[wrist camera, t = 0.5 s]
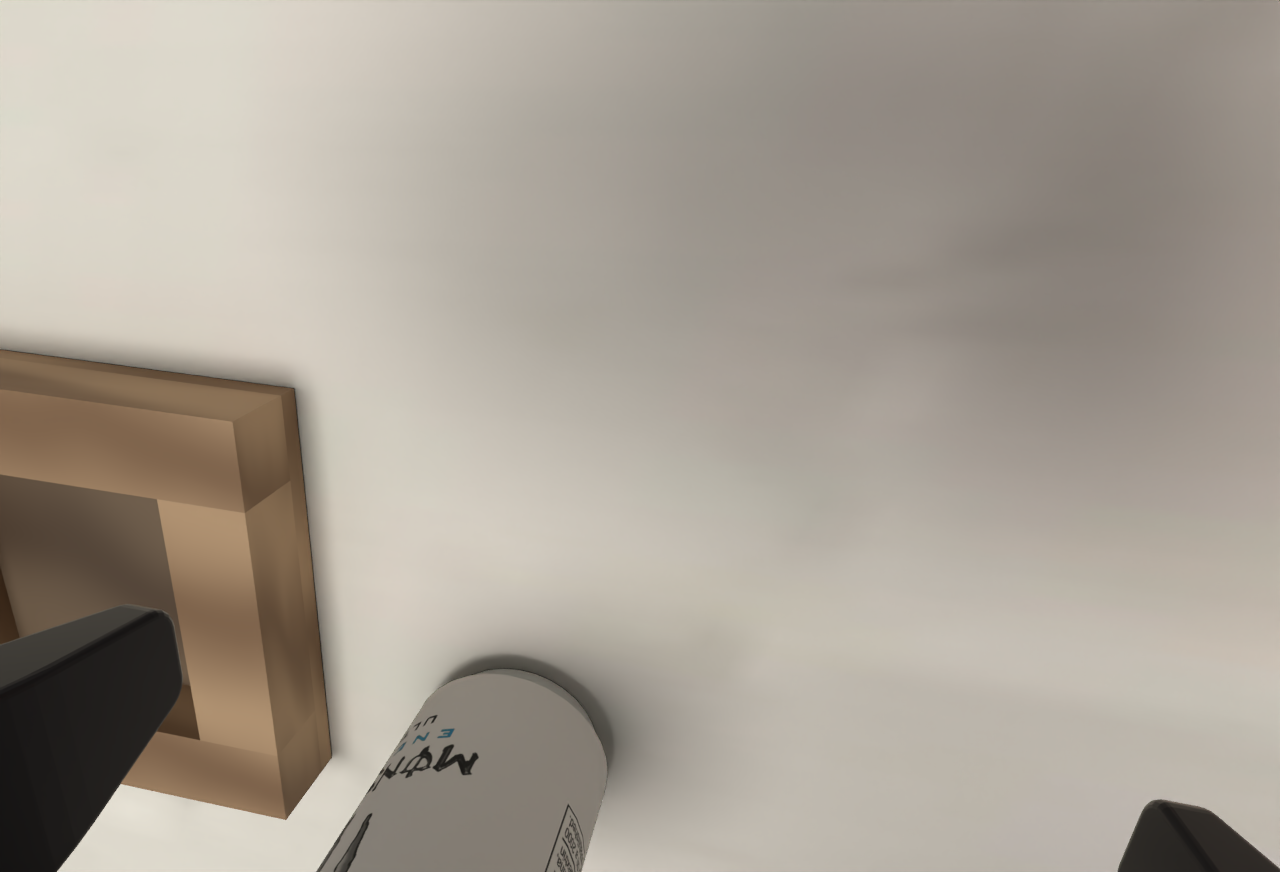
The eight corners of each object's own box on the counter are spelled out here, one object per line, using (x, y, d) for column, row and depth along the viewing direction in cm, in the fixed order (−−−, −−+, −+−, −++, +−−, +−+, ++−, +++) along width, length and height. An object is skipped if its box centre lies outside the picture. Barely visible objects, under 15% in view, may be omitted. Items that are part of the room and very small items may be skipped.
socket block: (331, 757, 27) (286, 819, 25) (-6, 688, 29) (-79, 740, 26) (293, 388, 22) (232, 421, 20) (-111, 335, 24) (-211, 359, 22)
